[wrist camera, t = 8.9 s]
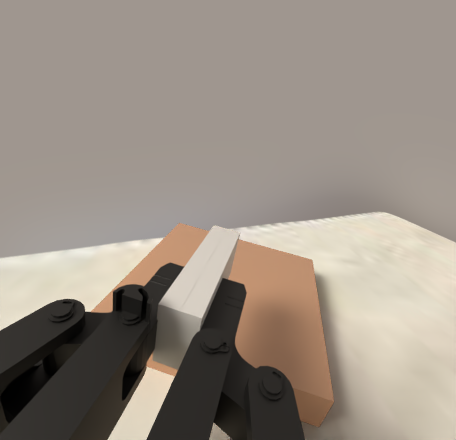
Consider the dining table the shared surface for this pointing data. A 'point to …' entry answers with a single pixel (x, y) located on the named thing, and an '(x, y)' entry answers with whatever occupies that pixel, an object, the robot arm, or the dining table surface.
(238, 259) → the standing tile
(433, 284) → the dining table surface
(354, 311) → the dining table surface
